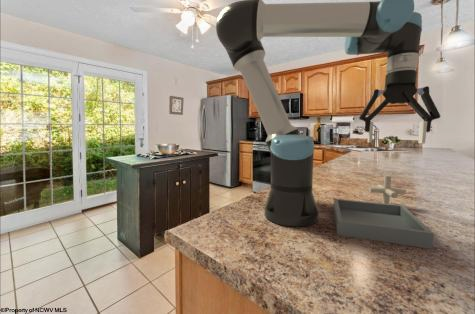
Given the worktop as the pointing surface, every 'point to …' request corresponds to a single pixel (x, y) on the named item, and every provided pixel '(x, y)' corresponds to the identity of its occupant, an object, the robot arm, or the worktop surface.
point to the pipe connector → (387, 190)
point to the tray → (380, 223)
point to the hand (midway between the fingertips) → (394, 142)
